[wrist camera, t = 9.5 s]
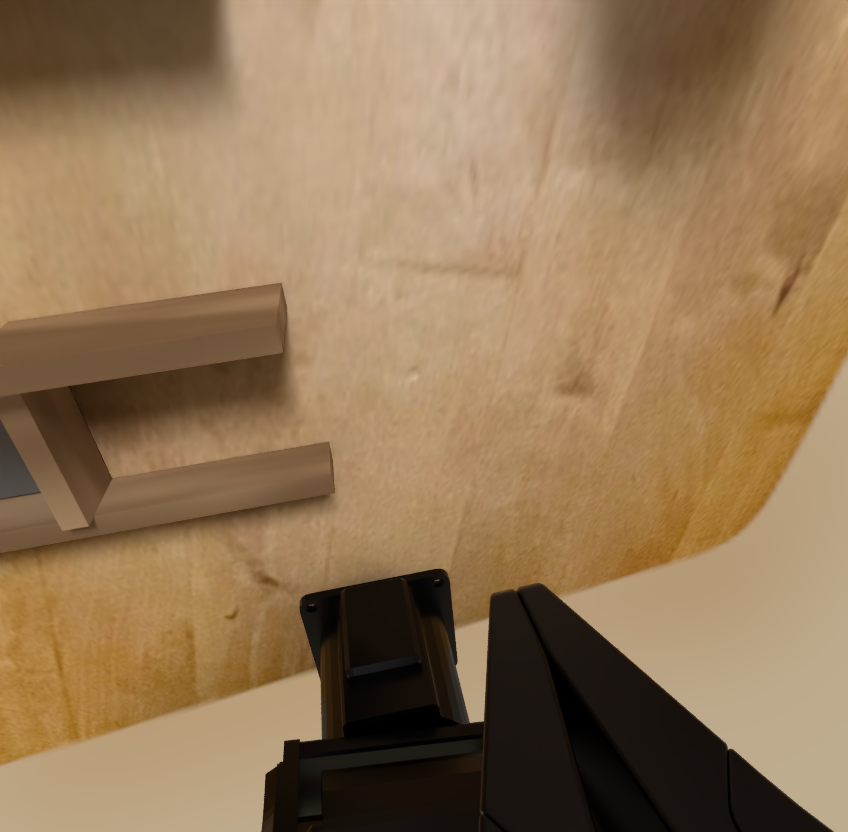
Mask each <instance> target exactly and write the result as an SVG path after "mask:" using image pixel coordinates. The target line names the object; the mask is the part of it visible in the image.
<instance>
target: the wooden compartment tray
mask: <svg viewBox="0 0 848 832" xmlns="http://www.w3.org/2000/svg"><path fill="white" fill-rule="evenodd" d="M286 313H287V305H286V301H285V297H284V292H283V288H282V283H278V284H271V285H264V286H257V287H250V288H243V289H236V290H229V291H222V292H215V293H208V294H201V295H194V296H187V297H180V298H173V299H166V300H159V301H152V302H145V303H138V304H131V305H124V306H117V307H110V308H103V309H96V310H89V311H82V312H75V313H68V314H61V315H54V316H47V317H40V318H33V319H26V320H19V321H12V322H8V323H7V324H5V325H4V326H3V327H2V328H1V329H0V553H4V552H9V551H15V550H20V549H26V548H32V547H37V546H43V545H48V544H54V543H59V542H65V541H70V540H76V539H82V538H87V537H93V536H98V535H104V534H109V533H115V532H121V531H126V530H132V529H137V528H143V527H148V526H154V525H160V524H165V523H171V522H176V521H182V520H187V519H193V518H198V517H204V516H210V515H215V514H221V513H226V512H232V511H237V510H243V509H249V508H254V507H260V506H265V505H271V504H276V503H282V502H288V501H293V500H299V499H304V498H310V497H315V496H321V495H327V494H332V493H335V488H334V472H333V459H332V454H331V450H330V445H329V442H326V443H320V444H314V445H308V446H302V447H296V448H290V449H285V450H279V451H273V452H267V453H261V454H255V455H249V456H244V457H238V458H232V459H226V460H220V461H214V462H208V463H203V464H197V465H191V466H185V467H179V468H173V469H168V470H162V471H156V472H150V473H144V474H138V475H132V476H127V477H121V478H115V479H112V478H111V476H110V474H109V472H108V470H107V467H106V465H105V463H104V461H103V459H102V457H101V455H100V452H99V450H98V448H97V446H96V444H95V442H94V440H93V437H92V435H91V433H90V431H89V429H88V427H87V425H86V422H85V420H84V418H83V416H82V414H81V412H80V410H79V407H78V405H77V403H76V401H75V399H74V397H73V395H72V392H71V390H70V388H69V386H72V385H79V384H85V383H92V382H98V381H104V380H111V379H117V378H124V377H130V376H137V375H143V374H150V373H156V372H163V371H169V370H176V369H182V368H189V367H195V366H201V365H208V364H214V363H221V362H227V361H234V360H240V359H247V358H253V357H260V356H266V355H273V354H279V353H283V346H284V335H285V324H286Z"/></svg>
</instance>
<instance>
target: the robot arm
mask: <svg viewBox="0 0 848 832" xmlns="http://www.w3.org/2000/svg"><path fill="white" fill-rule="evenodd" d="M437 579H441V580H439V581H435V580H437ZM310 604H314V606H308V605H310ZM300 613H301V617H302V620H303V623H304V627H305V630H306V633H307V637H308V640H309V643H310V647H311V650H312V653H313V657H314V660H315V663H316V667H317V670H318V673H319V677H320V680H321V715H322V740H314V741H305V742H300V739H299V740H298V739H297V740H288V741H284V755H283V762H280V764H277V767H275V768H274V769H272V770H271V771H270V772H268V773H267V774H266V778H265V794H264V795H265V796H264V810H263V823H262V831H261V832H833V831H832V830H831V829H829V828H828V827H827V826H826V825H824V824H823V823H822V822H820V821H819V820H818V819H816V818H815V817H814V816H812V815H811V814H810V813H808V812H807V811H806V810H805V809H803V808H802V807H801V806H799V805H798V804H797V803H796V802H794V801H793V800H792V799H791V798H790V797H788V796H787V795H786V794H785V793H783V792H782V791H781V790H780V789H778V787H776V786H775V785H774V784H773V783H772V782H770V781H769V780H768V779H767V778H766V777H764V776H763V775H762V774H761V773H759V772H758V771H757V770H756V769H755V768H754V767H753V766H751V765H750V764H749V763H748V762H747V761H746V760H745V759H744V758H742V757H741V756H740V755H739V754H738V753H737V752H735V751H734V750H733V749H729V750H728V747H727V744H726V743H725V742H724V741H722V740H721V739H720V738H719V737H718V736H717V735H715V734H714V733H713V732H712V731H711V730H710V729H709V728H708V727H706V726H705V725H704V724H703V723H702V722H701V721H699V720H698V719H697V718H696V717H695V716H694V715H693V714H692V713H690V712H689V711H688V710H687V709H686V708H685V707H684V706H682V705H681V704H680V703H679V702H678V701H677V700H675V699H674V698H673V697H672V696H671V695H670V694H669V693H667V692H666V691H665V690H664V689H663V688H662V687H661V686H659V685H658V684H657V683H656V682H655V681H653V680H652V679H651V678H650V677H649V676H648V675H647V674H646V673H644V672H643V671H642V670H641V669H640V668H639V667H638V666H636V665H635V664H634V663H633V662H632V661H631V660H630V659H628V658H627V657H626V656H625V655H624V654H623V653H621V652H620V651H619V650H618V649H617V648H616V647H614V646H613V645H612V644H611V643H610V642H609V641H608V640H607V639H605V638H604V637H603V636H602V635H601V634H600V633H599V632H597V631H596V630H595V629H594V628H593V627H592V626H590V625H589V624H588V623H587V622H586V621H585V620H584V619H582V618H581V617H580V616H579V615H578V614H577V613H575V612H574V611H573V610H572V609H571V608H570V607H569V606H567V605H566V604H565V603H564V602H563V601H562V600H561V599H559V598H558V597H557V596H556V595H555V594H554V593H553V592H551V591H550V590H549V589H548V588H547V587H546V586H544V585H543V584H541V583H535V584H531V585H526V586H522V587H519V588H518V589H517V591H515V590H513V589H509V590H505V591H501V592H497V593H493V594H492V595H491V597H490V610H489V631H488V632H489V633H488V651H487V673H486V693H485V713H484V721H483V722H474V723H470V722H469V719H468V714H467V710H466V706H465V702H464V698H463V694H462V690H461V687H460V682H459V678H458V674H457V670H456V664H457V651H456V641H455V630H454V620H453V610H452V600H451V590H450V581H449V577H448V574H447V572H446V571H445V570H443V569H433V570H428V571H423V572H418V573H413V574H408V575H403V576H398V577H392V578H387V579H382V580H377V581H372V582H367V583H362V584H357V585H352V586H347V587H341V588H336V589H331V590H326V591H321V592H316V593H311V594H307V595H305V596H303V597H302V598H301V600H300Z"/></svg>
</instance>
